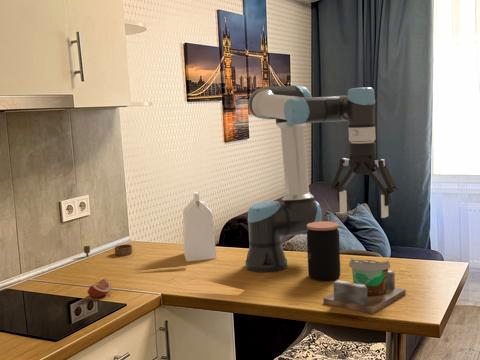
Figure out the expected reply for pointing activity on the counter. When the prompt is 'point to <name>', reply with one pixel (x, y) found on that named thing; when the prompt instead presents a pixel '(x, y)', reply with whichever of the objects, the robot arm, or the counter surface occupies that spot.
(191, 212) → the milk
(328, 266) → the coffee jar
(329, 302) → the holder
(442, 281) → the counter surface
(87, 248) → the place setting
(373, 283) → the food container
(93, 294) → the fruit slice
